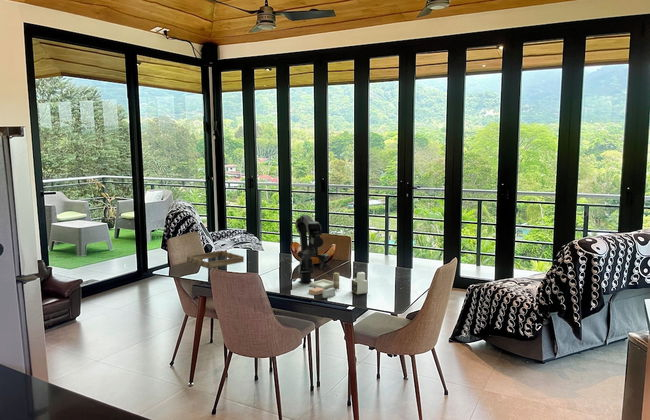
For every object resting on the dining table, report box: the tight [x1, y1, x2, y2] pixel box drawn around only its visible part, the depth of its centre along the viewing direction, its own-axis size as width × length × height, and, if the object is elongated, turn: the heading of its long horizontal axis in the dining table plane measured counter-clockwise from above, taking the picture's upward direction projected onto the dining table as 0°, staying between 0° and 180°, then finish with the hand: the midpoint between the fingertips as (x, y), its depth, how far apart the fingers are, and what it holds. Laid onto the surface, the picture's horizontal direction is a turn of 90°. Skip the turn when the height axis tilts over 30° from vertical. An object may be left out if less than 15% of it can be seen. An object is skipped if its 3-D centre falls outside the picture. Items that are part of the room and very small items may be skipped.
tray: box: [309, 278, 334, 290], centre depth 301 cm, size 12×12×2 cm
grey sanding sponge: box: [322, 287, 336, 299], centre depth 279 cm, size 2×8×4 cm, turn 134°
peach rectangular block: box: [308, 287, 326, 296], centre depth 286 cm, size 6×7×2 cm
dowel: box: [333, 272, 340, 290], centre depth 296 cm, size 3×3×9 cm
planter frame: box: [186, 250, 245, 269], centre depth 364 cm, size 29×29×4 cm
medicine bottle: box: [351, 270, 369, 295], centre depth 287 cm, size 7×7×12 cm
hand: (313, 269), depth 291 cm, fingers open, 9 cm apart
